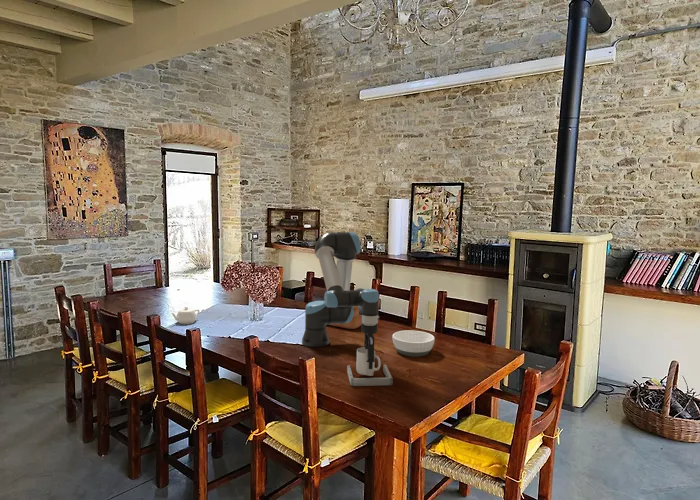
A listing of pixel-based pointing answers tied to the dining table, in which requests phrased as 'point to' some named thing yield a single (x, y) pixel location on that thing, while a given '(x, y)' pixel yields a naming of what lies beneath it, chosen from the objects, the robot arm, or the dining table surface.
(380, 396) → the dining table surface
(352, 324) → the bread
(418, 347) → the bowl
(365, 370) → the cup
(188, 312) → the teapot
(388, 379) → the bracket
